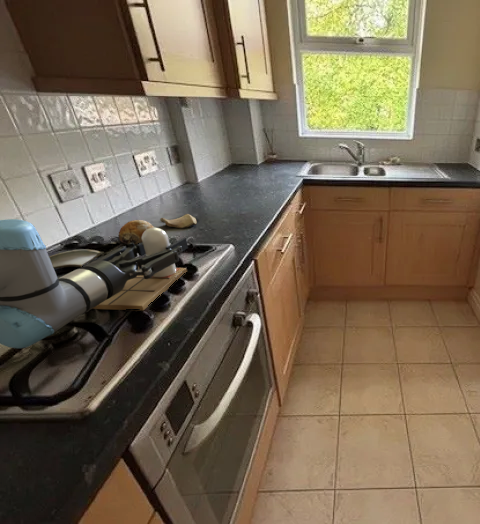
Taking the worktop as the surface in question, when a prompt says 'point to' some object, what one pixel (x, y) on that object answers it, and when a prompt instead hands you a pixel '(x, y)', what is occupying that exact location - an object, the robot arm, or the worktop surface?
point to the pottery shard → (180, 221)
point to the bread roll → (133, 231)
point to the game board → (140, 292)
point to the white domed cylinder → (157, 247)
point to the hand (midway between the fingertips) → (171, 241)
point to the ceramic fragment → (73, 258)
